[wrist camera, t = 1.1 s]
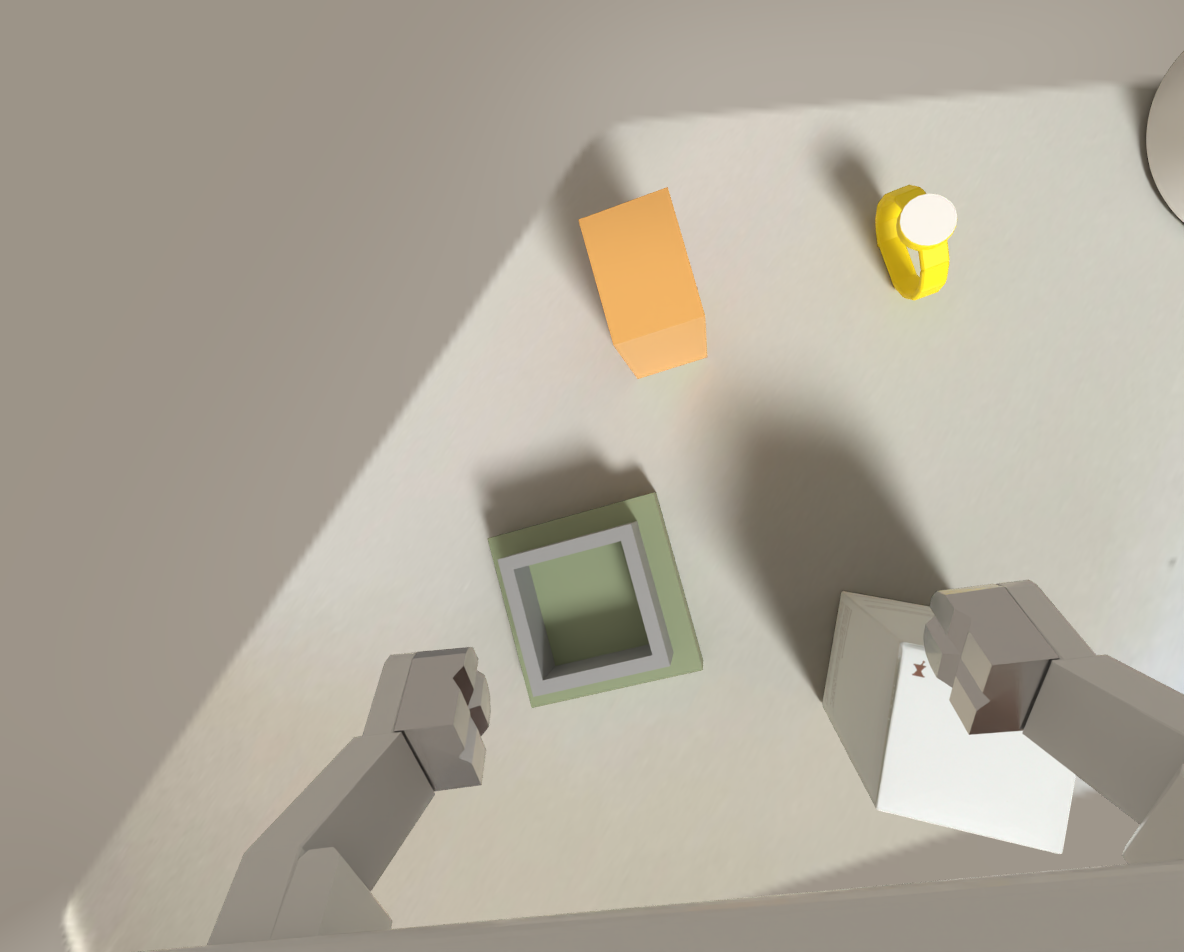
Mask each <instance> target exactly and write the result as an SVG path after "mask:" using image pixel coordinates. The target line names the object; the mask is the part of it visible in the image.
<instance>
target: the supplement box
mask: <svg viewBox="0 0 1184 952" xmlns="http://www.w3.org/2000/svg"><path fill="white" fill-rule="evenodd" d="M934 616H935V615H934V613H933V612H932V610H931V608H930V607H929V606H924V605H919V604H913V603H907V602H902V601H896V600H891V599H885V598H879V597H874V596H868V595H863V594H857V593H851V592H846V591H842V592H841V597H840V603H839V609H838V615H837V621H836V627H835V632H834V638H833V644H832V650H831V656H830V662H829V668H828V673H827V679H826V685H825V691H824V697H823V703H822V705H823V708H824V710H825V712H826V713H827V715H828V717H829V719H830V721H831V723H832V725H833V727H834V729H835V731H836V733H837V734H838V736H839V738H840V740H841V742H842V744H843V746H844V748H845V750H846V752H847V754H848V756H849V758H850V760H851V762H852V763H853V765H854V767H855V769H856V771H857V773H858V775H859V777H860V778H861V780H862V782H863V784H864V786H865V788H866V790H867V792H868V794H869V796H870V798H871V800H872V802H873V803H874V805H875V807H876V809H877V810H879V811H883V812H887V813H891V814H895V815H900V816H904V817H907V818H911V819H915V820H919V821H924V822H928V823H932V824H936V825H940V826H944V827H948V828H953V829H957V830H961V831H965V832H969V833H973V834H978V835H982V836H986V837H990V838H994V839H998V840H1003V841H1007V842H1011V843H1015V844H1020V845H1024V846H1028V847H1032V848H1036V849H1041V850H1045V851H1049V852H1053V853H1056V854H1061V853H1063V846H1064V840H1065V834H1066V829H1067V823H1068V817H1069V812H1070V806H1071V800H1072V794H1073V789H1074V783H1075V777H1076V775H1075V774H1074V773H1073V772H1071V771H1070V770H1069V769H1067V768H1066V767H1065V766H1064V765H1062V764H1061V763H1060V762H1058V761H1057V760H1056V759H1055V758H1053V757H1052V756H1051V755H1049V754H1048V753H1047V752H1045V751H1044V750H1043V749H1042V748H1040V747H1039V746H1038V745H1036V744H1035V743H1034V742H1033V741H1031V740H1030V739H1029V738H1027V737H1026V736H1025V735H1024V734H1022V732H1023V731H1013V732H1000V733H986V734H973V735H969V734H968V732H967V731H966V729H965V727H964V725H963V724H962V722H961V720H960V718H959V717H958V715H957V713H956V711H955V710H954V708H953V706H952V704H951V703H950V701H949V699H950V695H951V691H952V687H950V686H949V685H947V684H946V683H944V682H943V681H941V680H939V679H938V678H937V677H936V676H935V674H934V672H933V670H932V668H931V666H930V664H929V662H928V659H927V656H926V653H925V647H924V640H923V636H924V630H925V624H926V623H927V622H928V621H930V620H931V619H932V618H933V617H934Z"/></svg>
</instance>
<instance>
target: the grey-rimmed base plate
mask: <svg viewBox="0 0 1184 952" xmlns="http://www.w3.org/2000/svg"><path fill="white" fill-rule="evenodd" d="M488 542H489V546H490V550H491V553H492V557H493V561H494V565H495V569H496V573H497V576H498V580H499V584H500V588H501V592H502V596H503V599H504V603H505V607H506V611H507V615H508V619H509V622H510V626H511V630H512V634H513V638H514V642H515V645H516V649H517V653H518V657H519V661H520V665H521V668H522V672H523V676H524V680H525V684H526V688H527V691H528V695H529V699H530V703H531V707H532V708H534V707H539V706H543V705H548V704H552V703H557V702H561V701H566V700H570V699H575V698H579V697H584V696H588V695H593V694H597V693H602V692H606V691H611V690H615V689H620V688H624V687H629V686H633V685H638V684H642V683H647V682H651V681H656V680H660V679H665V678H669V677H674V676H678V675H683V674H687V673H692V672H696V671H701V670H703V658H702V655H701V651H700V648H699V644H698V640H697V637H696V633H695V630H694V626H693V623H692V619H691V615H690V612H689V608H688V605H687V601H686V598H685V594H684V590H683V587H682V583H681V580H680V576H679V573H678V569H677V566H676V562H675V558H674V555H673V551H672V548H671V544H670V541H669V537H668V533H667V530H666V526H665V523H664V519H663V516H662V512H661V508H660V505H659V501H658V498H657V494H656V492H655V493H650V494H647V495H643V496H639V497H636V498H632V499H629V500H625V501H621V502H618V503H614V504H611V505H607V506H603V507H600V508H596V509H592V510H589V511H585V512H582V513H578V514H574V515H571V516H567V517H564V518H560V519H556V520H553V521H549V522H546V523H542V524H538V525H535V526H531V527H527V528H524V529H520V530H517V531H513V532H509V533H506V534H502V535H499V536H495V537H491V538H488Z"/></svg>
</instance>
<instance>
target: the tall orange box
mask: <svg viewBox="0 0 1184 952" xmlns="http://www.w3.org/2000/svg"><path fill="white" fill-rule="evenodd" d="M579 224H580V227H581V231H582V234H583V238H584V242H585V245H586V249H587V252H588V256H589V259H590V263H591V267H592V270H593V274H594V277H595V281H596V284H597V288H598V292H599V295H600V299H601V302H602V306H603V309H604V313H605V317H606V320H607V324H608V327H609V331H610V334H611V338H612V341H613V345H614V347H615V348H616V349H617V351H618V352H619V354H620V355H621V356H622V358H623V359H624V361H625V362H626V363H627V365H628V366H629V367H630V369H631V370H632V372H633V373H634V374H635V376H636V377H637V379H639V378H642V377H645V376H649V375H652V374H655V373H658V372H661V371H665V370H668V369H671V368H674V367H677V366H681V365H684V364H687V363H690V362H693V361H697V360H700V359H703V358H706V357H707V343H706V324H705V314H704V310H703V307H702V304H701V300H700V297H699V293H698V290H697V286H696V283H695V280H694V276H693V273H692V269H691V266H690V262H689V259H688V256H687V252H686V249H685V245H684V242H683V238H682V235H681V232H680V228H679V225H678V221H677V218H676V214H675V211H674V207H673V204H672V201H671V197H670V194H669V190H668V187H667V188H664V189H661V190H658V191H656V192H653V193H650V194H647V195H645V196H642V197H639V198H636V199H634V200H631V201H628V202H625V203H623V204H620V205H617V206H615V207H612V208H609V209H606V210H604V211H601V212H598V213H595V214H593V215H590V216H587V217H584V218H582V219H579Z"/></svg>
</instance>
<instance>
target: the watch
mask: <svg viewBox="0 0 1184 952" xmlns="http://www.w3.org/2000/svg"><path fill="white" fill-rule="evenodd" d="M901 210H902V211H901ZM875 222H876V223H875V227H876V236H877V243H878V244H877V246H878V247H879V248H880V250H881V253H882V256H883V259H884V261H885V264H886V267H887V269H888V272H889V275H890V277H891V280H892V283H893V286H894V287H895V289H896V290H897V291H898V292H899V293H900V294H901V295H902V297H904V298H906V299H911V300H917V299H920V298H922V297H925V296H928V295H931V294H933V293H936V292H938V291H939V290H940V289H941V288H942V286H943V285H944V284H945V282H946V280H947V274H948V268H949V251H948V242H947V240H948V238H949V237H950V236H951V235H952V234H953V232H954V230H955V228H956V224H957V213H956V209H955V207H954V206H953V204H952V203H951V202H950V201H949V200H948V199H947V198H945V197H943V196H940V195H938V194H926V192H925V191H924V190H923V189H922V188H920V187H917V186H912V185H907V186H905V187H902V188H900V189H897V190H894V191H892V192H889V193H887V194H885V195H884V196H883V198H882V199H881V200H880V201H879V203H878V205H877V211H876V219H875ZM906 246H907V247H908V248H911V249H913V250H916V251H918V253H919V260H920V268H921V272H920V277H919V276H918V275H917V274H916V271H915V269H914V266H913V263H912V261H911V258H910V255H909V253H908V250H907V247H906Z"/></svg>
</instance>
